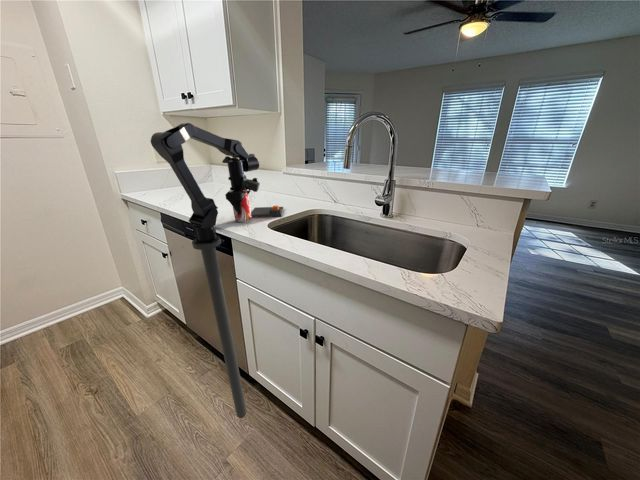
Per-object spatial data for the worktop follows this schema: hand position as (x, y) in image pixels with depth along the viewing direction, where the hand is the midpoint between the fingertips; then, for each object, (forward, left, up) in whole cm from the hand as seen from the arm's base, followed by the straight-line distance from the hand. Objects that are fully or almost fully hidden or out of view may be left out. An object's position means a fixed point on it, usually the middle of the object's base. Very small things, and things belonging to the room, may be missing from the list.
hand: (242, 210), depth 110 cm
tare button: (+13, +7, -2) cm, 15 cm away
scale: (+9, +10, -4) cm, 14 cm away
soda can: (0, 0, -5) cm, 5 cm away
